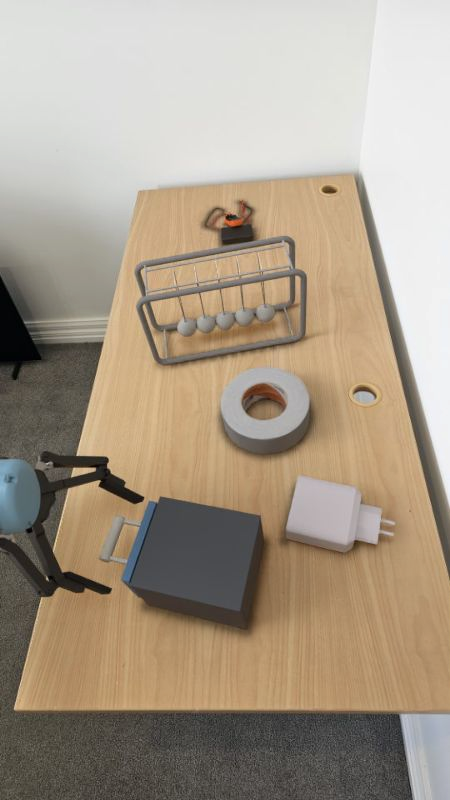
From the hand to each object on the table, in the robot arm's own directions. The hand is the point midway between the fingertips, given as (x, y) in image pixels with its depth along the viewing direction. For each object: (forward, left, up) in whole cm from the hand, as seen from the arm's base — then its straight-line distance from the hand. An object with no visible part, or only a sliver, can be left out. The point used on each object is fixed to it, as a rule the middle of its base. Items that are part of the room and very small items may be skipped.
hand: (124, 544), depth 72 cm
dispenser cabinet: (+4, -11, -6) cm, 13 cm away
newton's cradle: (+45, +13, -6) cm, 47 cm away
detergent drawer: (+2, -7, -5) cm, 9 cm away
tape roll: (+32, -4, -6) cm, 33 cm away
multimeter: (+77, +34, -6) cm, 84 cm away
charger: (+21, -24, -6) cm, 33 cm away
